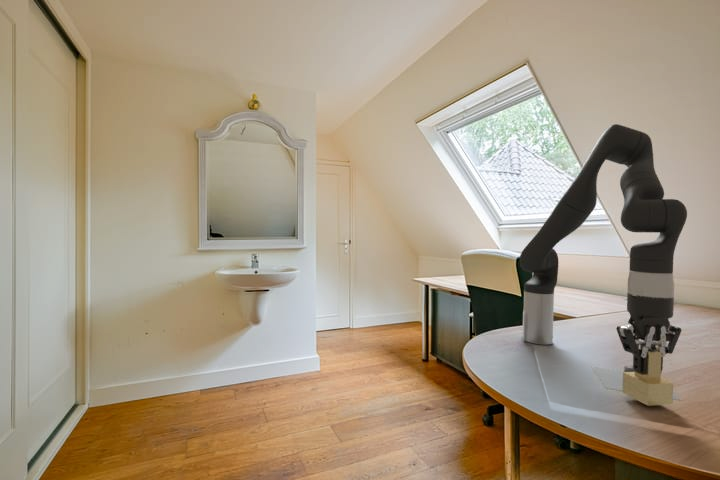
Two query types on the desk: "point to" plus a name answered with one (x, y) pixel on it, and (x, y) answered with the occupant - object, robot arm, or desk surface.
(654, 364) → the cream stepped block
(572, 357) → the desk surface
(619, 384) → the thin grey square mat
